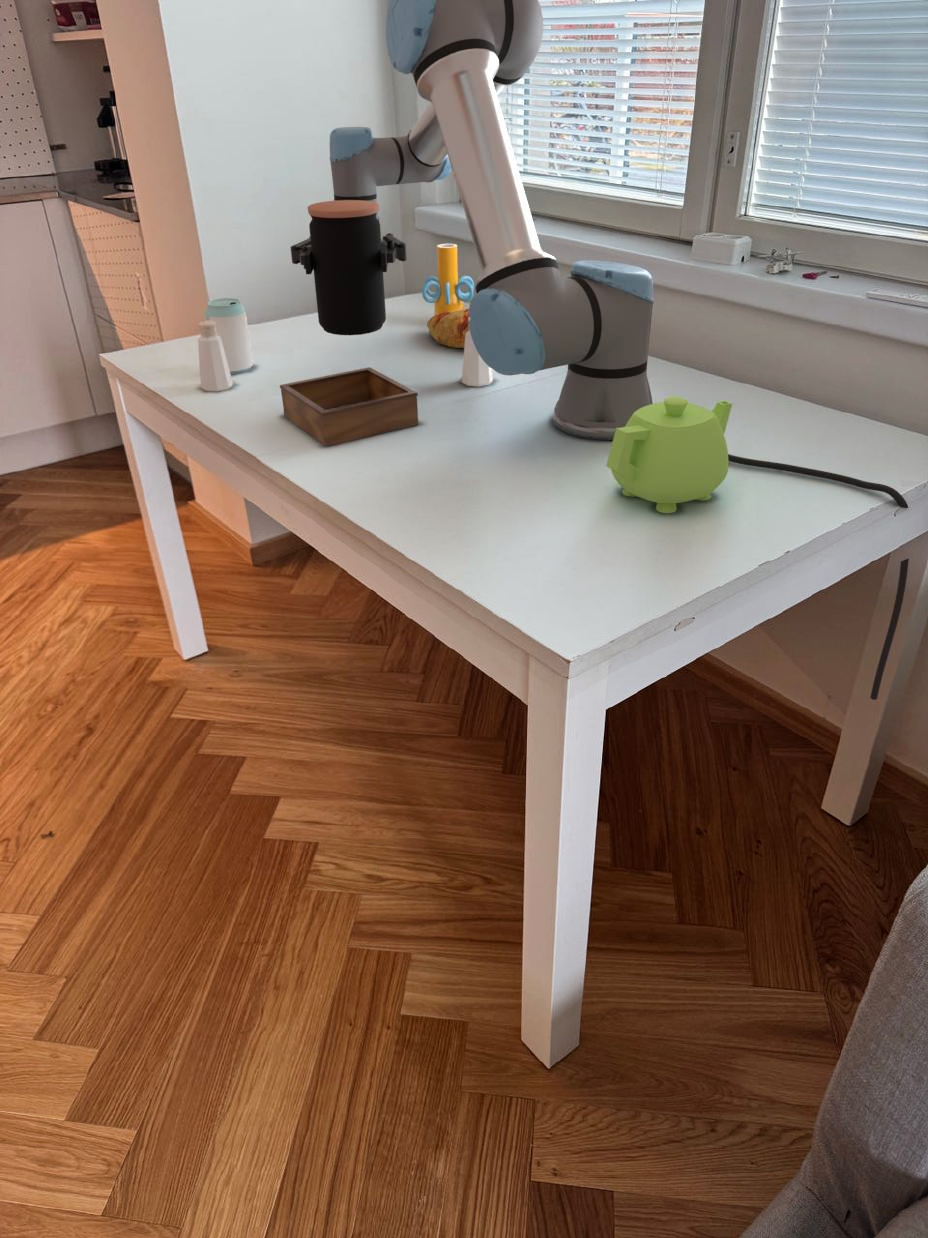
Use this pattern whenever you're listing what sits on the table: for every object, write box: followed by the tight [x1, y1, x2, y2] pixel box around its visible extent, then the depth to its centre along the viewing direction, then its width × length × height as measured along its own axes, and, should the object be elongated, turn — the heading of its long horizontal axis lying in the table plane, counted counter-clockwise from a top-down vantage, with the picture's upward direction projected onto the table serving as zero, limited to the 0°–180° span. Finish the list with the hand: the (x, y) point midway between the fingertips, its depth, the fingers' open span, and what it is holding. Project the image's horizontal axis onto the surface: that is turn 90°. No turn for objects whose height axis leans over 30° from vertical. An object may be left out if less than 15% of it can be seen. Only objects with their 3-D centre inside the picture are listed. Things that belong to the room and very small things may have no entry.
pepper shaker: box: [461, 317, 494, 388], centre depth 159 cm, size 5×5×11 cm
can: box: [204, 297, 254, 375], centre depth 168 cm, size 7×7×12 cm
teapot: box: [605, 396, 733, 514], centre depth 118 cm, size 20×13×13 cm
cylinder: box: [421, 243, 475, 316], centre depth 192 cm, size 12×10×15 cm
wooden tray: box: [279, 366, 419, 447], centre depth 145 cm, size 16×16×5 cm
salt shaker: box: [197, 320, 234, 393], centre depth 159 cm, size 5×5×11 cm
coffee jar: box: [307, 200, 387, 336], centre depth 145 cm, size 11×11×18 cm
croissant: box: [426, 307, 469, 349], centre depth 181 cm, size 21×10×8 cm, turn 40°
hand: (345, 263), depth 141 cm, fingers closed on coffee jar, 11 cm apart
